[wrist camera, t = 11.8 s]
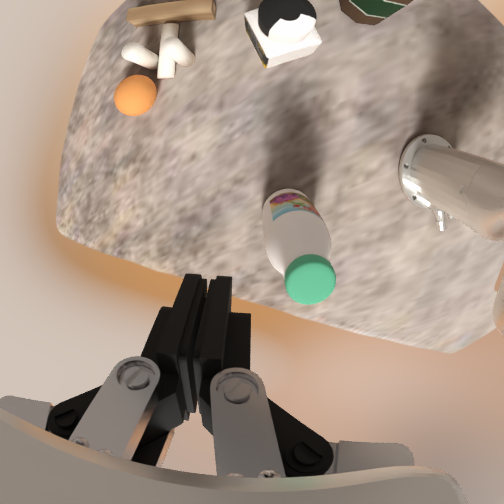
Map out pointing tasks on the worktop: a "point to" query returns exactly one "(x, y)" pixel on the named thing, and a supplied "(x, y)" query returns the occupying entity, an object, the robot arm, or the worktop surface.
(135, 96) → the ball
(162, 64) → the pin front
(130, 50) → the pin
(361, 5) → the beer bottle
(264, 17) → the medicine bottle
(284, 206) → the milk bottle
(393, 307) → the worktop surface
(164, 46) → the pin
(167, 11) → the bar
